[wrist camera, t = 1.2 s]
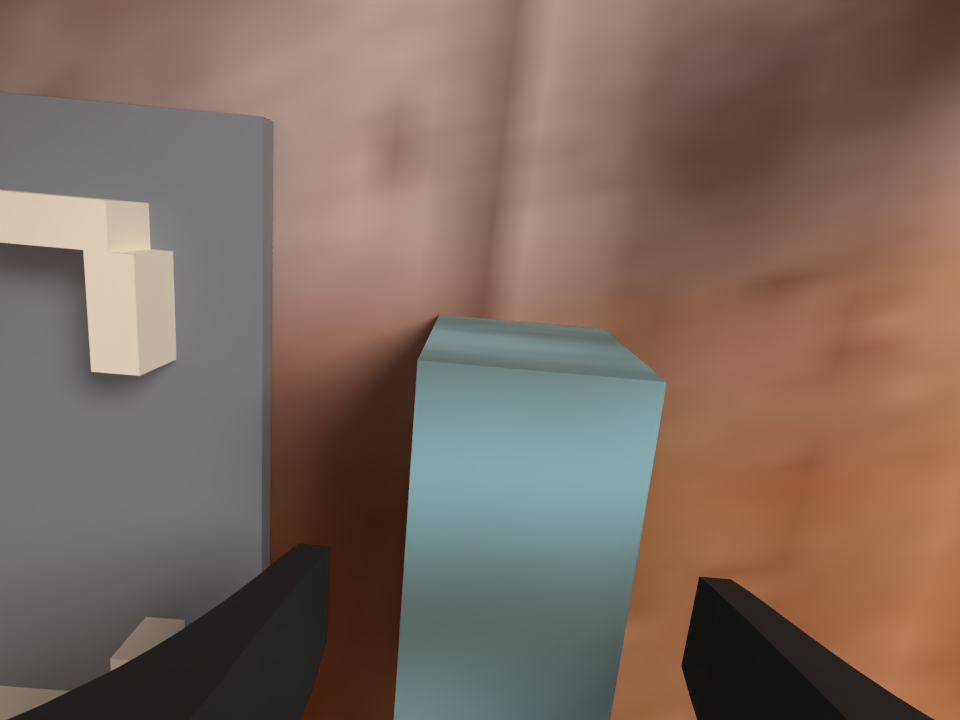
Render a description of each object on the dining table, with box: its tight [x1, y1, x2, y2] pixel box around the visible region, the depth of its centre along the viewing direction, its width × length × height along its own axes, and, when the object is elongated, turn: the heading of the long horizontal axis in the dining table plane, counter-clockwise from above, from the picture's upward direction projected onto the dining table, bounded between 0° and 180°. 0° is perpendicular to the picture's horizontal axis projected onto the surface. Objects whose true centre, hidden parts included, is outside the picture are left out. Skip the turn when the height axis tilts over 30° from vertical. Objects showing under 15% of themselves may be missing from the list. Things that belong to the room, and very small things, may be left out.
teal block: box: [394, 315, 667, 720], centre depth 13 cm, size 10×4×5 cm, turn 175°
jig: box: [0, 92, 273, 720], centre depth 14 cm, size 18×12×2 cm, turn 175°
